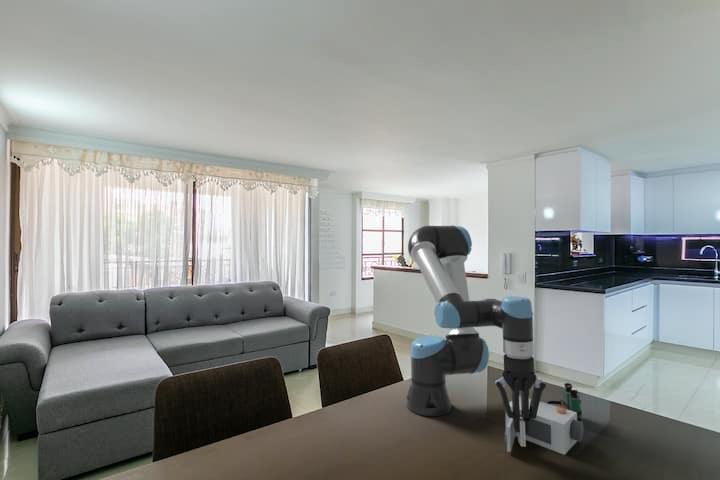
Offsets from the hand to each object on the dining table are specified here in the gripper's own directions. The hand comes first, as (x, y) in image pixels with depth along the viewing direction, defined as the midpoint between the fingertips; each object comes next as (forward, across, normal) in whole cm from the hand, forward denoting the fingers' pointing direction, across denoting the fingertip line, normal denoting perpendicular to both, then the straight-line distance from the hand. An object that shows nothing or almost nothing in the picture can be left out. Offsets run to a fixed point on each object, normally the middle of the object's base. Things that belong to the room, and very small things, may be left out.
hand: (521, 443), depth 97 cm
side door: (+1, -2, +3) cm, 4 cm away
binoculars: (+3, +19, +21) cm, 28 cm away
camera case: (+2, +8, +9) cm, 12 cm away
